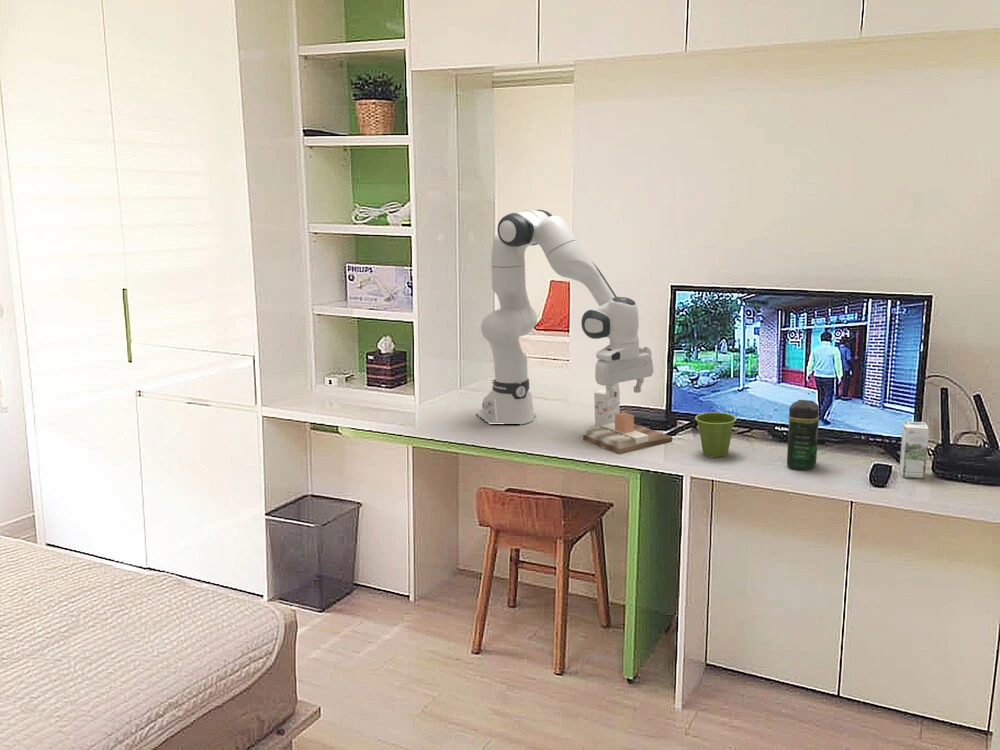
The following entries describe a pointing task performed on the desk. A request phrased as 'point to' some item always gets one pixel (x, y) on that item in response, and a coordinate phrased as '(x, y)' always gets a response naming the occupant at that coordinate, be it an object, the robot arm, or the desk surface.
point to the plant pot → (715, 432)
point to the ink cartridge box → (606, 406)
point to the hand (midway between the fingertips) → (625, 394)
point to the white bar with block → (626, 427)
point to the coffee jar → (803, 434)
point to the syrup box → (913, 449)
